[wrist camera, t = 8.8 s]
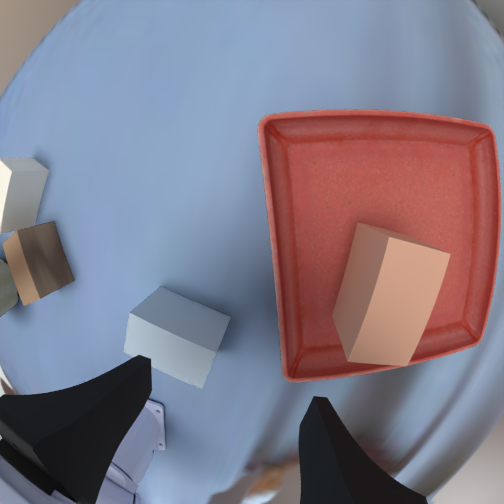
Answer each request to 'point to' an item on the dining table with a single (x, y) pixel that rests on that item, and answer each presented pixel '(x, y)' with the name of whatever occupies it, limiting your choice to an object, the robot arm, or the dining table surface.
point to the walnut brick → (37, 261)
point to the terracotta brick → (387, 295)
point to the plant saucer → (377, 221)
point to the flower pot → (7, 289)
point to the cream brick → (20, 192)
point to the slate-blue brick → (176, 335)
